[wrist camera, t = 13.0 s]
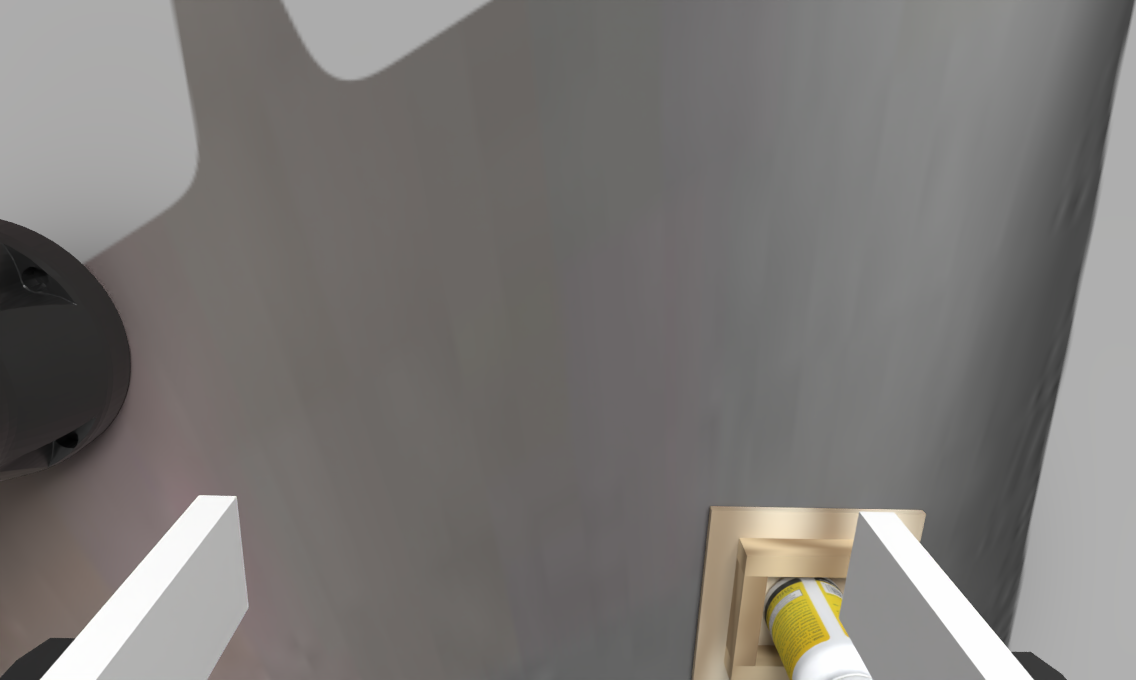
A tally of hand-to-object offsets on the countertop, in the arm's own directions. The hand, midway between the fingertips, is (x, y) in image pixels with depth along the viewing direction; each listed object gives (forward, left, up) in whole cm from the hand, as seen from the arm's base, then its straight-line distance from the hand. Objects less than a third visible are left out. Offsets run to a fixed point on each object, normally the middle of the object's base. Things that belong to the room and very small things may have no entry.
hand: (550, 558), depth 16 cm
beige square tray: (+18, -23, -29) cm, 40 cm away
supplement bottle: (+18, -23, -28) cm, 40 cm away
